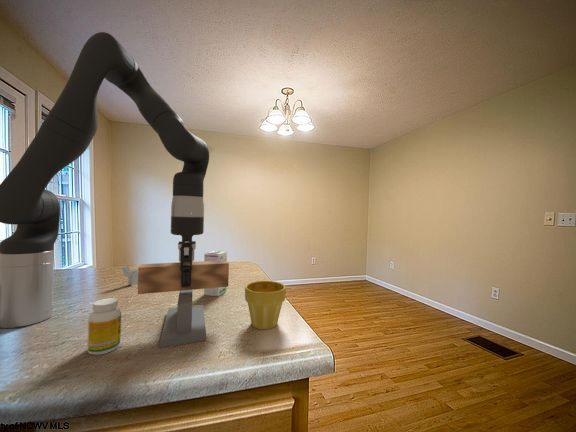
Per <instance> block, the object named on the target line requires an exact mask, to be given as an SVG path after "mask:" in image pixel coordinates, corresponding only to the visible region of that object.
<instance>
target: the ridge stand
mask: <svg viewBox="0 0 576 432" xmlns="http://www.w3.org/2000/svg"><path fill="white" fill-rule="evenodd" d="M176 305H177V307H168V310H167V312H166V317H165V320H164V325H163V328H162V331H161V336H160V340H159V348H161V349H162V348H167V347H174V346H181V345H186V344H193V343H200V342H206V341H207V330H206V321H205V319H206V318H205V311H204V310H205V309H204V304H197V305H193V290H182V291H179V294H178V299H177V304H176Z"/></svg>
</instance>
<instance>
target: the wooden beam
mask: <svg viewBox="0 0 576 432" xmlns="http://www.w3.org/2000/svg"><path fill="white" fill-rule="evenodd" d="M183 265H190V262H183ZM192 266H193V269H192V271H191V286H190V287H184V288H182V287H181V271H180V261H177V262H162V263H161V262H159V263H157V262H156V263H155V262H154V263H141V264H140V265H139V266H138V267H137V270H138V284H137V295H147V294H158V293H169V292H180V291H182V290H192V291H193V290H204V289H206V288H218V287H226V288H228V287H229V273H230V271H229V269H230V262H229V261H228V259H227V260H222V261H203V260H202V261H193V262H192Z"/></svg>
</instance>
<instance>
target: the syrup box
mask: <svg viewBox="0 0 576 432" xmlns="http://www.w3.org/2000/svg"><path fill="white" fill-rule="evenodd" d="M203 258H204V259H203V260H204V261H222V260H227V261H228V252H227V251H224V250H212V251H210V252H205V253H204V257H203ZM225 292H227V287H218V288H206V289H203V295H205V296H210V297H212V296H213V297H220V296H221V295H222V294H224V293H225Z"/></svg>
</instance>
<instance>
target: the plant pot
mask: <svg viewBox="0 0 576 432" xmlns="http://www.w3.org/2000/svg"><path fill="white" fill-rule="evenodd" d="M286 290H287V288H286V285H285V284H284V283H282V282H278V281H276V280H275V281H274V280H256V281H251V282H249V283H247V284H246V285H245V287H244V301H246V303H247V307H248V313H249V318H250V322H251V323H250V324H251V326H252V327H253V328H256V329H258V330H270V329H273V328H274V327H276V326H277V325H278V322H279V318H280V314H281V310H282V306H283V303H284V302H285V300H286V292H287V291H286Z"/></svg>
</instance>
